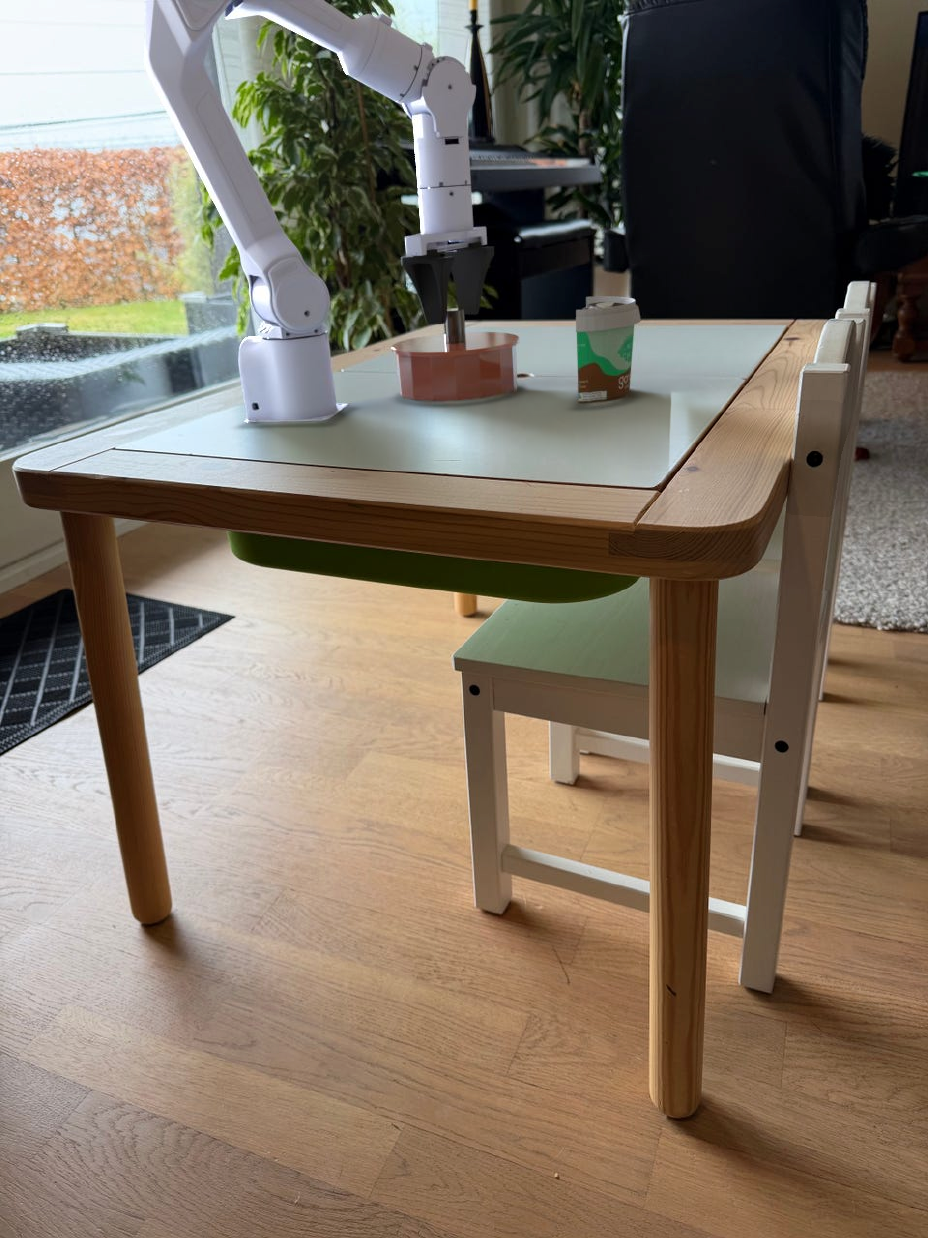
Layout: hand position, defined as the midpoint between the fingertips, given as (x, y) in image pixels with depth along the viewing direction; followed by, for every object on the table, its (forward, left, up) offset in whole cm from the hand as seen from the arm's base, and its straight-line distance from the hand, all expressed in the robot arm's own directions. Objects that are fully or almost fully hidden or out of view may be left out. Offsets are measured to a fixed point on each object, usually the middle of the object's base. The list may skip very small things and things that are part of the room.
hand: (453, 318), depth 107 cm
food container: (+18, -5, -9) cm, 21 cm away
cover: (0, 0, -3) cm, 3 cm away
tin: (0, 0, -8) cm, 8 cm away
